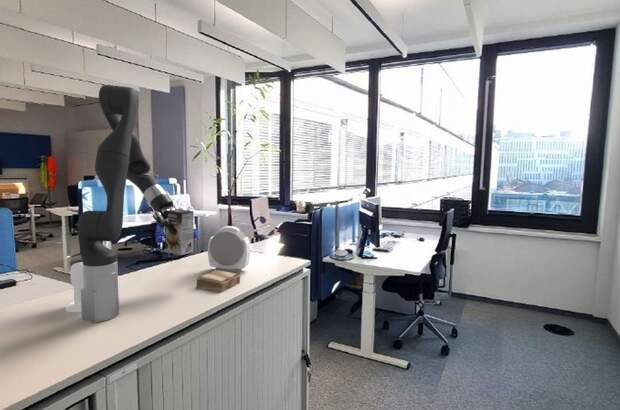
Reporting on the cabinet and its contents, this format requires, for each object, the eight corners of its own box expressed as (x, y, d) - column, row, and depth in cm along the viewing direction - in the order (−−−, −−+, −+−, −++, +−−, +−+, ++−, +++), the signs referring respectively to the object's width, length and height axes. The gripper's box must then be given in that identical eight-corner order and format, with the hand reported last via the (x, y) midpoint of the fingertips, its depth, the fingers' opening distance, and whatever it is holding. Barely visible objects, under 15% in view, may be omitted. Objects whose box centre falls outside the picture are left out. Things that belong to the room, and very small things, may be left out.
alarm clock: (250, 268, 166) (251, 226, 164) (245, 274, 158) (246, 229, 156) (213, 266, 168) (213, 224, 166) (206, 272, 160) (206, 227, 157)
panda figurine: (113, 304, 121) (111, 261, 120) (77, 315, 112) (75, 269, 110) (93, 296, 127) (91, 255, 126) (58, 307, 118) (55, 262, 116)
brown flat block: (221, 292, 135) (221, 281, 135) (196, 287, 140) (196, 277, 140) (239, 282, 146) (239, 273, 146) (216, 278, 151) (216, 269, 151)
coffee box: (164, 252, 136) (163, 210, 134) (177, 248, 142) (176, 208, 140) (181, 255, 132) (180, 212, 130) (194, 251, 138) (194, 210, 136)
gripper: (148, 194, 131) (174, 228, 128) (177, 191, 144) (200, 223, 141) (138, 207, 133) (162, 241, 130) (167, 203, 147) (190, 235, 143)
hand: (182, 232), depth 136 cm, fingers closed on coffee box, 6 cm apart
